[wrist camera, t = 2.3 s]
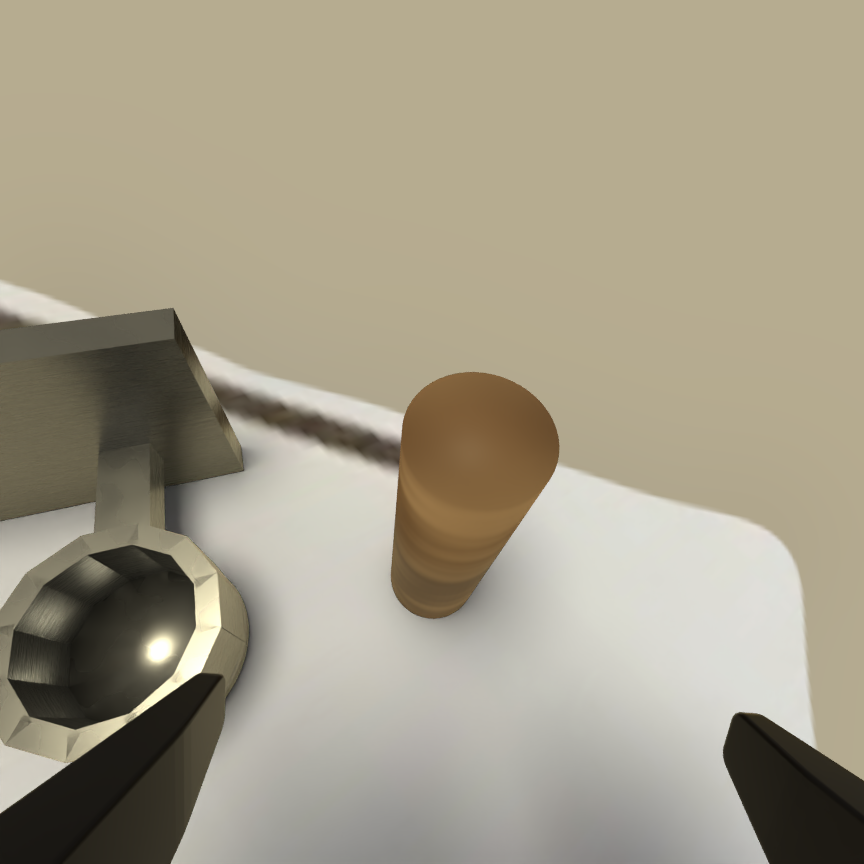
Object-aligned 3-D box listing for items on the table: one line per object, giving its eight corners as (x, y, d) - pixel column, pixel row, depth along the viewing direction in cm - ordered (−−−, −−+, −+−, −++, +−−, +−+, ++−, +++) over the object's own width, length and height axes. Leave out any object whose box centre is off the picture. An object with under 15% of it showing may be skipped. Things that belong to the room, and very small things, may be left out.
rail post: (485, 604, 23) (585, 487, 12) (403, 629, 22) (427, 526, 11) (458, 526, 25) (523, 361, 14) (382, 545, 24) (384, 386, 13)
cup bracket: (270, 712, 20) (187, 699, 11) (-118, 836, 17) (-635, 948, 8) (240, 446, 26) (173, 307, 17) (-46, 502, 23) (-297, 368, 14)
